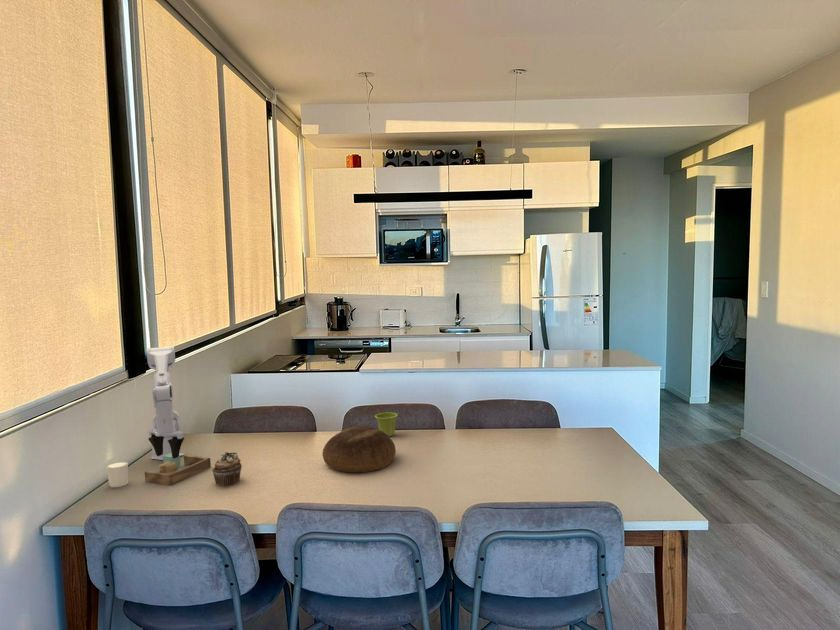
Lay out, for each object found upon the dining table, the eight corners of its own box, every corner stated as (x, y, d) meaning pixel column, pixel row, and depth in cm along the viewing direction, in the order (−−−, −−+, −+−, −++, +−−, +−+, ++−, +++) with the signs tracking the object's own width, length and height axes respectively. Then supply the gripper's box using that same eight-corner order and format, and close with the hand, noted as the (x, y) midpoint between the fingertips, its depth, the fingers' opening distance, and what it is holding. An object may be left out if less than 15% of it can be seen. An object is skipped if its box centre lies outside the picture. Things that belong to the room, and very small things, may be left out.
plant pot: (397, 438, 250) (396, 417, 249) (375, 438, 250) (374, 418, 249) (398, 431, 259) (398, 412, 258) (377, 432, 259) (376, 412, 258)
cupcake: (219, 477, 211) (217, 449, 210) (246, 476, 210) (244, 449, 210) (208, 487, 201) (206, 458, 200) (237, 487, 201) (235, 458, 200)
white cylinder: (134, 481, 210) (132, 462, 209) (118, 488, 203) (116, 468, 203) (119, 479, 212) (117, 460, 211) (103, 487, 206) (101, 467, 205)
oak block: (160, 478, 212) (159, 465, 211) (169, 475, 215) (168, 461, 215) (168, 480, 210) (167, 466, 209) (177, 476, 214) (176, 462, 213)
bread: (410, 459, 222) (409, 425, 221) (355, 480, 203) (353, 443, 202) (364, 446, 240) (362, 414, 239) (309, 464, 221) (307, 430, 220)
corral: (145, 481, 209) (144, 471, 209) (186, 463, 227) (185, 454, 226) (170, 485, 205) (169, 475, 204) (210, 467, 222) (210, 458, 221)
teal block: (164, 469, 222) (163, 456, 221) (172, 465, 226) (171, 452, 225) (172, 470, 220) (171, 457, 220) (180, 466, 224) (179, 453, 224)
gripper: (140, 420, 210) (143, 457, 212) (171, 423, 204) (174, 462, 206) (156, 415, 217) (159, 451, 218) (186, 418, 211) (189, 455, 212)
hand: (167, 456), depth 212 cm, fingers open, 7 cm apart
